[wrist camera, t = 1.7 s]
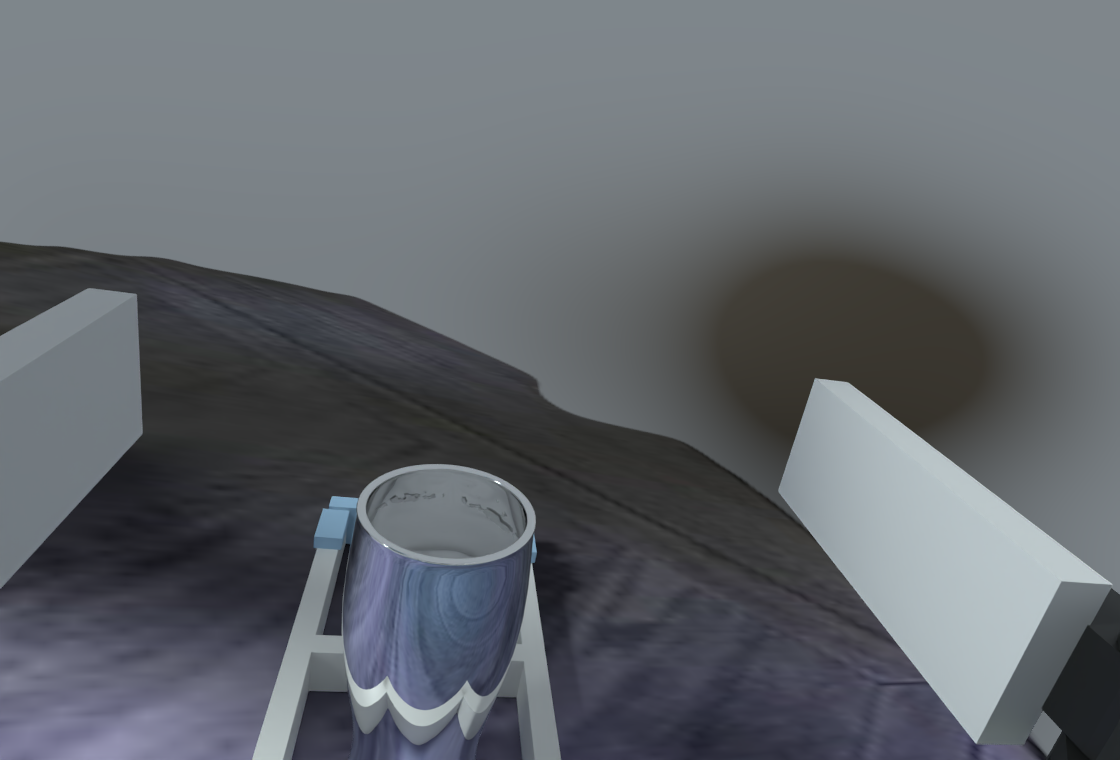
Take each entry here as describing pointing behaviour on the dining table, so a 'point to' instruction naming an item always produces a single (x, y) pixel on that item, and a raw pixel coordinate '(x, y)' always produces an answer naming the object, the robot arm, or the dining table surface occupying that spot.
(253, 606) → the dining table surface
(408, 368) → the dining table surface
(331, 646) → the frame
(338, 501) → the light blue bracket
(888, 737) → the dining table surface
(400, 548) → the beer glass
